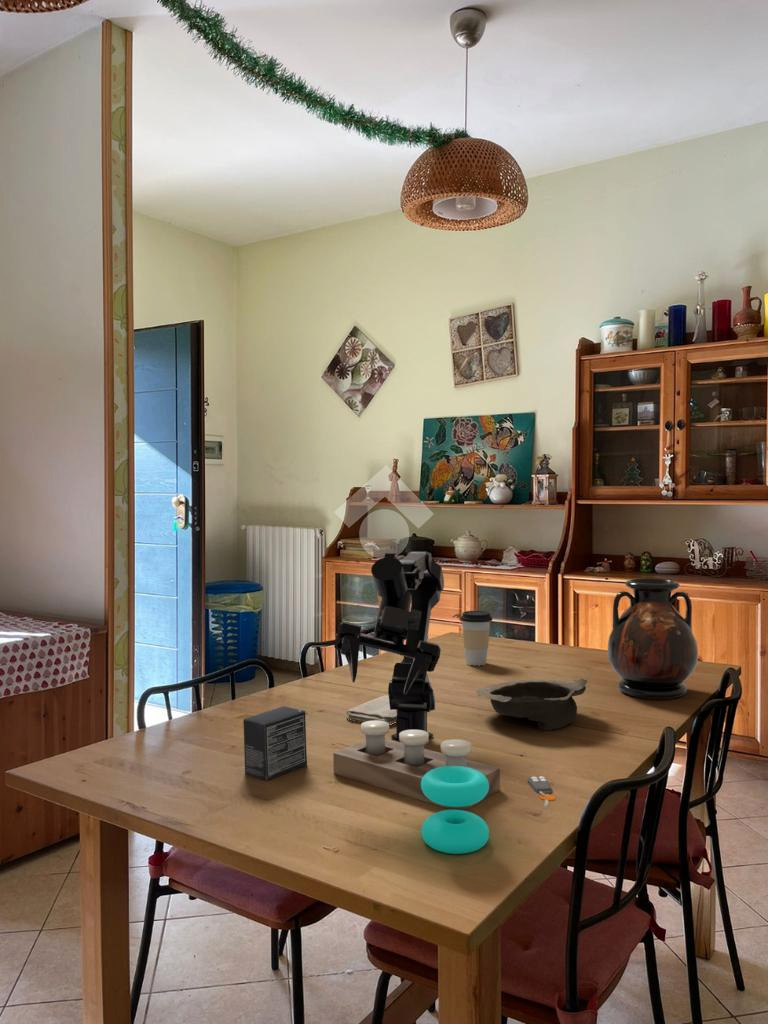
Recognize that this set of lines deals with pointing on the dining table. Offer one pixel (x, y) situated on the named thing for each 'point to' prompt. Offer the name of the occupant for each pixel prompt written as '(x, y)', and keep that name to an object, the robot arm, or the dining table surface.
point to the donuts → (455, 826)
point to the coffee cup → (476, 636)
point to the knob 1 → (375, 736)
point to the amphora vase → (652, 641)
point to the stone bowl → (537, 700)
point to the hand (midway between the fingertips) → (379, 687)
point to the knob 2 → (456, 752)
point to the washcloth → (373, 711)
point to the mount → (401, 770)
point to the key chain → (541, 787)
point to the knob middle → (414, 746)
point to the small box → (275, 742)
